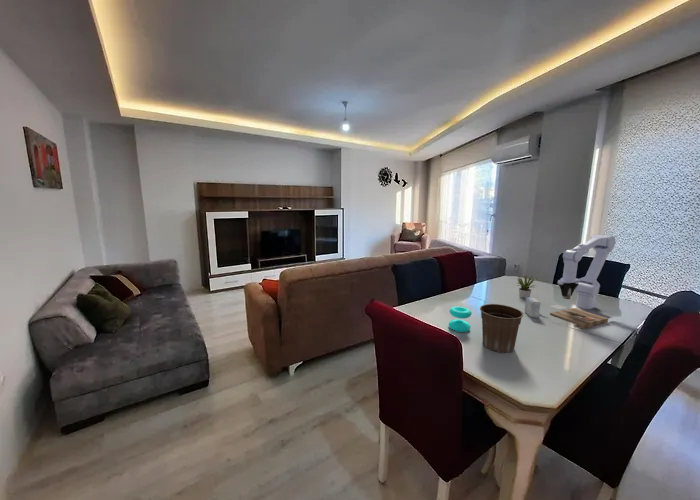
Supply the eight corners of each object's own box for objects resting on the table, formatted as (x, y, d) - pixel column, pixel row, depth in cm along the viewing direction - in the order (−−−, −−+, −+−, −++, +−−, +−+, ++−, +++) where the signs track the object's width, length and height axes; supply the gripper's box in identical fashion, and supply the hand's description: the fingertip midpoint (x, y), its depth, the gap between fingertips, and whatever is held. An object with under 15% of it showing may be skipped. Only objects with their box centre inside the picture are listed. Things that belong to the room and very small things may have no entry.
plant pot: (500, 359, 113) (504, 320, 110) (468, 341, 128) (471, 306, 125) (528, 351, 119) (532, 314, 117) (495, 335, 134) (498, 301, 131)
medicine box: (539, 317, 154) (540, 302, 153) (529, 317, 155) (531, 301, 154) (532, 312, 162) (534, 297, 161) (524, 311, 163) (525, 297, 161)
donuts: (476, 311, 137) (460, 314, 133) (474, 330, 138) (458, 334, 134) (460, 304, 146) (445, 307, 142) (459, 323, 147) (444, 326, 143)
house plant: (539, 297, 187) (542, 273, 184) (539, 304, 175) (542, 278, 173) (514, 294, 194) (516, 270, 192) (513, 299, 183) (515, 274, 180)
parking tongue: (557, 306, 170) (558, 304, 170) (568, 310, 165) (568, 307, 165) (548, 308, 168) (548, 306, 167) (559, 312, 162) (559, 309, 162)
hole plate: (574, 312, 162) (574, 307, 162) (607, 323, 147) (608, 318, 147) (549, 317, 155) (550, 312, 155) (582, 329, 140) (583, 323, 140)
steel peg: (565, 296, 162) (566, 286, 161) (571, 298, 159) (573, 288, 158) (560, 297, 161) (562, 287, 160) (567, 299, 158) (568, 289, 157)
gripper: (571, 269, 164) (568, 292, 166) (553, 271, 159) (550, 295, 161) (584, 272, 157) (581, 296, 159) (566, 274, 152) (563, 298, 154)
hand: (566, 295), depth 160 cm, fingers closed on steel peg, 3 cm apart
